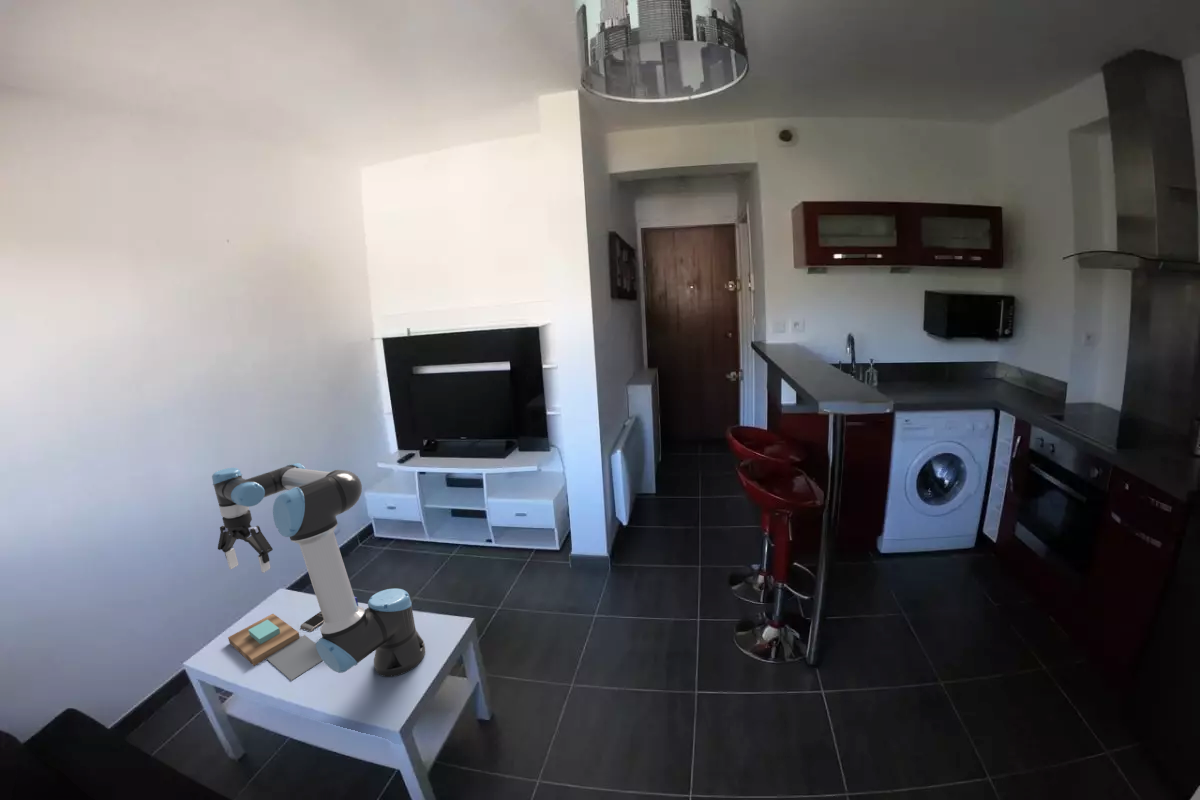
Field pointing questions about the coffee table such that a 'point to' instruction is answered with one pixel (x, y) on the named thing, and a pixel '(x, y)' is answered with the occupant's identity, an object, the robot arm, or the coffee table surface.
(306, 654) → the mat
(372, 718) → the coffee table surface
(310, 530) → the robot arm
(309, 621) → the cell phone
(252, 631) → the teal rectangular block
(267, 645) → the wooden board
